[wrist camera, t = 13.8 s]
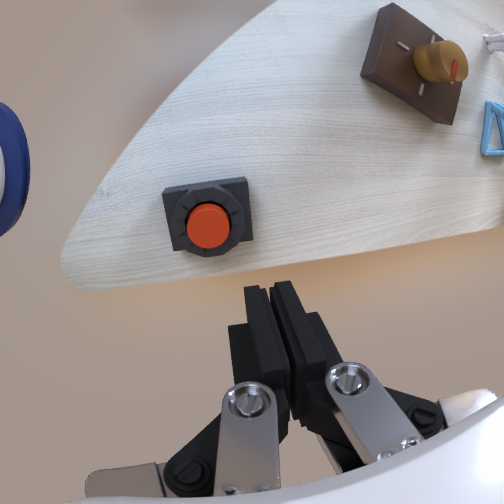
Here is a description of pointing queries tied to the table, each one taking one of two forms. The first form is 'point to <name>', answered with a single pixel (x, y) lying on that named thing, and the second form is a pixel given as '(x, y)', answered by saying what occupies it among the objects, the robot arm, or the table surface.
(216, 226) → the orange button
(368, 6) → the table surface
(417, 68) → the dial knob
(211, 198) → the button block
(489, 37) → the toy robot
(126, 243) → the table surface
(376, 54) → the dial panel
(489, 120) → the chair
